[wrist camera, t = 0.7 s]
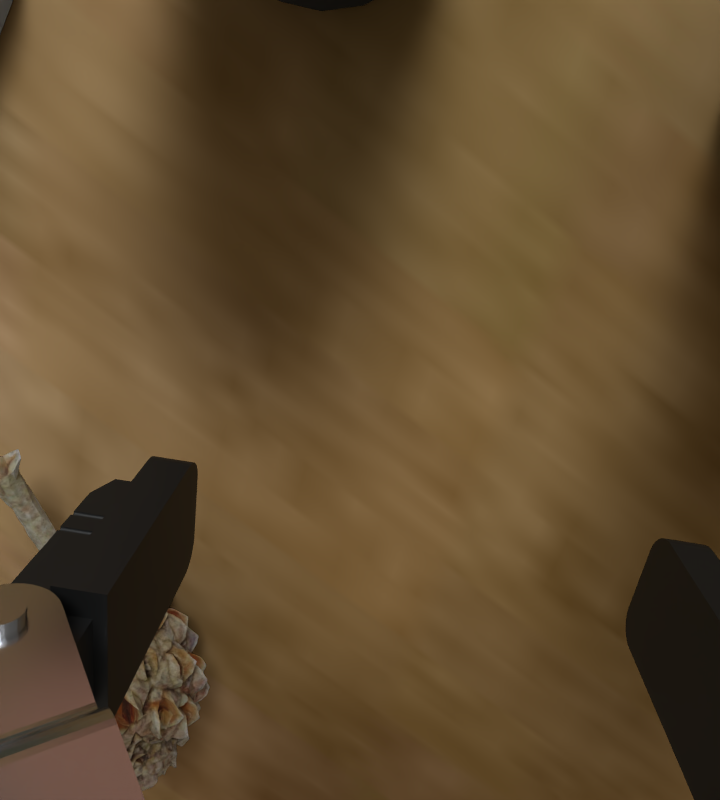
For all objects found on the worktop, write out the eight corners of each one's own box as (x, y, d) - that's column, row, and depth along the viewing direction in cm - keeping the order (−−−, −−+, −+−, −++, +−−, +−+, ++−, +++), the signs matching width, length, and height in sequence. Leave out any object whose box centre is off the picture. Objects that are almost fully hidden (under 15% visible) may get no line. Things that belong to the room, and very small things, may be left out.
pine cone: (259, 674, 43) (219, 826, 34) (133, 702, 45) (63, 852, 36) (93, 381, 35) (-17, 479, 26) (-52, 431, 37) (-201, 538, 28)
